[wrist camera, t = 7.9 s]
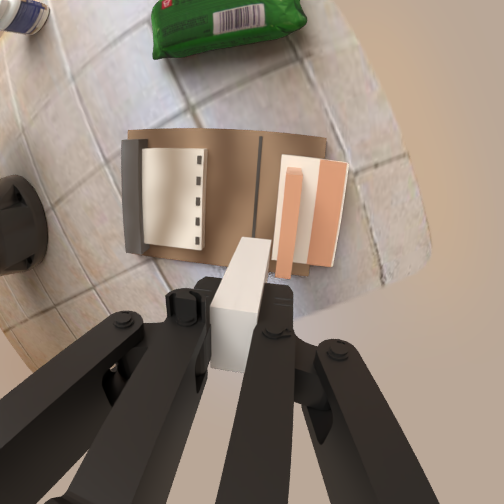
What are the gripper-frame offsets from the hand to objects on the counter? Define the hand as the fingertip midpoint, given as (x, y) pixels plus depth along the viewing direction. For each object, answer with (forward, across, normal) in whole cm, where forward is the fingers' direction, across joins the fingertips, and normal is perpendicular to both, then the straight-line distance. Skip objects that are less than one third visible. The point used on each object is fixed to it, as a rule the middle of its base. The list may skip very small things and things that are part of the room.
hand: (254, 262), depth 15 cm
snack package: (+15, -6, +19) cm, 25 cm away
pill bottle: (+16, -35, +27) cm, 47 cm away
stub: (+13, +4, 0) cm, 14 cm away
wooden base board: (+15, -5, 0) cm, 16 cm away
